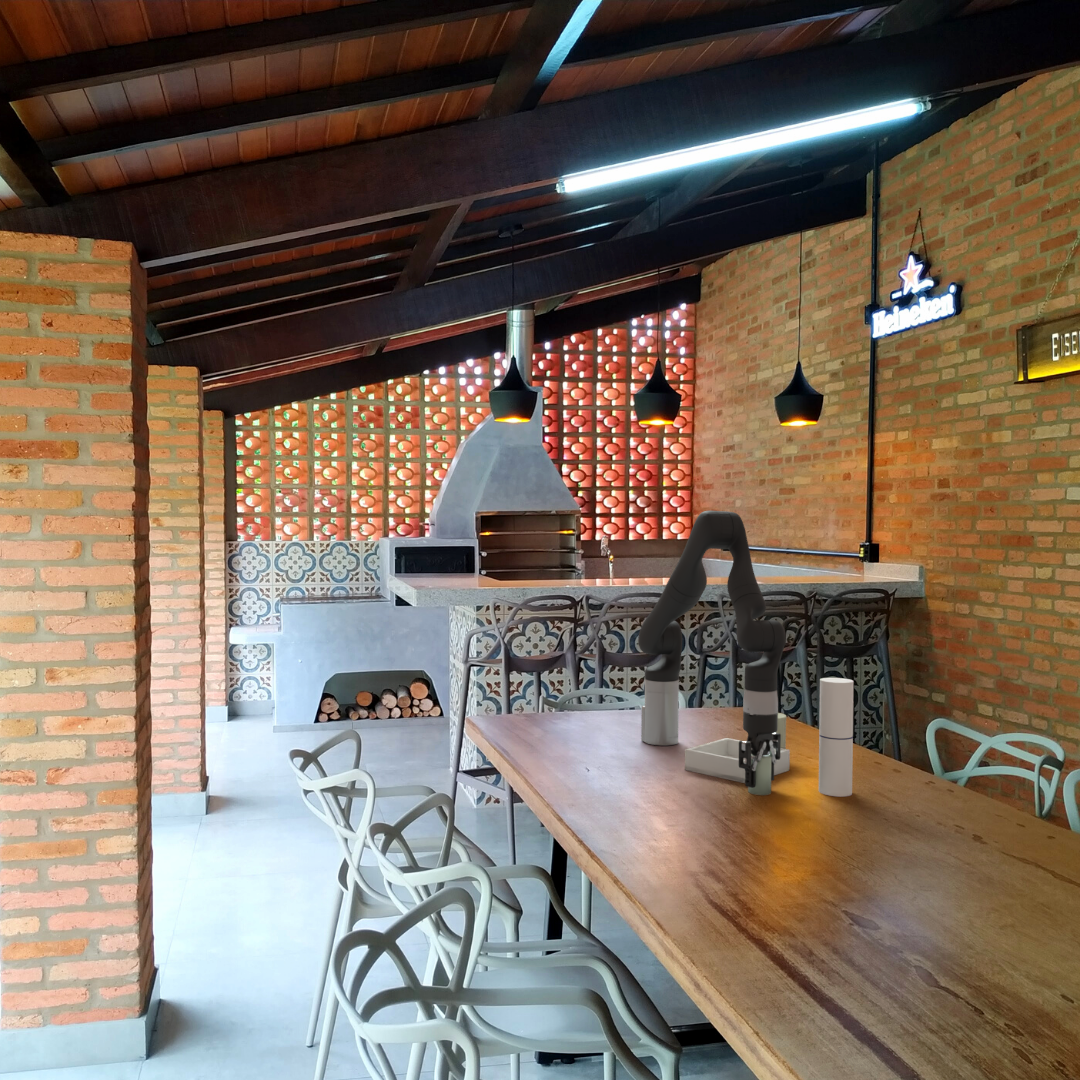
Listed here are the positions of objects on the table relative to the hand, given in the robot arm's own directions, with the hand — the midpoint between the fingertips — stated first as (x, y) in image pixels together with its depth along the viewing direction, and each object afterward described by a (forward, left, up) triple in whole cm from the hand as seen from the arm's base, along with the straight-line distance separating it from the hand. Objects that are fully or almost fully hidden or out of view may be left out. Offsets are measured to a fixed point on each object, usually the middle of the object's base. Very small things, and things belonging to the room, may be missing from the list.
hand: (759, 783), depth 215 cm
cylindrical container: (+12, +12, -2) cm, 17 cm away
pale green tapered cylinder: (0, 0, -2) cm, 2 cm away
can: (-14, +27, -2) cm, 30 cm away
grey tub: (-14, +13, -2) cm, 19 cm away
